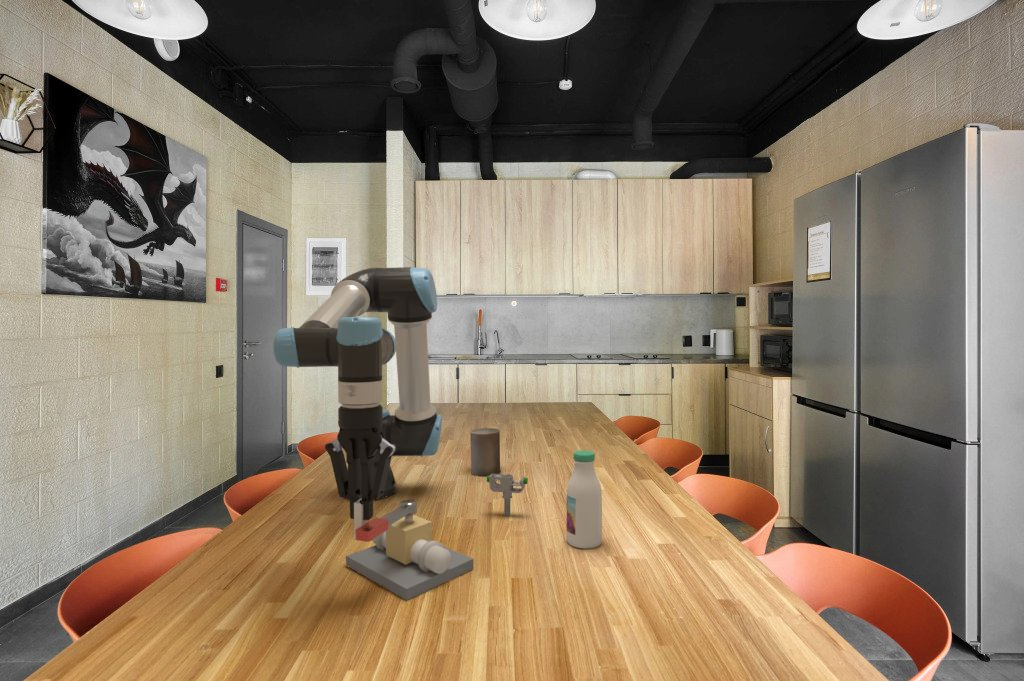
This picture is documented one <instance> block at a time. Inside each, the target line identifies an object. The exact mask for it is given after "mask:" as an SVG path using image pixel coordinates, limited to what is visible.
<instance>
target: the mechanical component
mask: <svg viewBox="0 0 1024 681" xmlns="http://www.w3.org/2000/svg"><path fill="white" fill-rule="evenodd" d="M497 481H499V483H498V482H497ZM486 482H487V483H489V489H490V490H491V492H496V493H502V496H501V498H503V506H504V507H503V510H504V511H503V514H504V517H510V515H511V499H513V494H520V493H522V492H523V491H524V489H525V487H526V485H528V482H529V480H528V477H526V476H521V477H520V480H519V481H516V479H515V478H514V475H513V474H507V473H506V474H505V473H504V474H503V473H499V474H491V475H490V476H486ZM514 486H515V487H514ZM517 487H519V488H517ZM520 487H521V488H520Z"/></svg>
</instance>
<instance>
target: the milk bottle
mask: <svg viewBox="0 0 1024 681" xmlns="http://www.w3.org/2000/svg"><path fill="white" fill-rule="evenodd" d="M595 454H596V453H595V452H594V451H592V450H588V449H587V450H583V449H582V450H580V449H579V450H575V451H574V452H573V463H574V467H573V470H572V473H571V476H570V478H569V480H568V483H567V488H566V541H567V544H568V545H570V546H571V547H574V548H577V549H583V550H585V549H587V550H589V549H594V548H597V547H599V546H601V544H602V540H603V499H602V498H603V496H602V487H601V484H600V480H599V478H598V476H597V474H596V470H595V465H594V464H595V462H596V461H595V458H596V456H595Z"/></svg>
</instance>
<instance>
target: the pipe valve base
mask: <svg viewBox="0 0 1024 681" xmlns="http://www.w3.org/2000/svg"><path fill="white" fill-rule="evenodd" d="M371 541H372V542H373V544H375V545H373V546H369V547H367V548H363V549H362V550H361V549H360V550H358V551H356V552H353V553H350V554H348V555H346V556H345V566H346V565H347V566H349V567H350V568H349V567H348V568H349V569H351V568H352V569H351V570H353V571H354V570H355V572H356V571H357V572H356V573H358V572H359V573H358V574H360V573H361V574H362V575H361V574H360V575H361V576H363V575H364V576H363V577H365V576H366V577H365V578H366V579H368V578H369V580H371V581H372V582H374V583H375V582H376V584H377V583H378V584H377V585H379V584H380V585H379V586H381V587H382V586H383V588H384V587H385V588H384V589H386V590H388V591H389V590H390V591H389V592H392V593H393V594H394V595H396V596H399V597H400V598H402V599H404V600H405V601H409V600H410V599H413V598H415V597H417V596H419V595H421V594H423V593H426V592H427V591H429V590H432V589H434V588H437V587H438V586H440V585H443V584H445V583H447V582H449V581H451V580H453V579H455V578H457V577H459V576H462V575H464V574H466V573H467V572H470V571H472V570H474V567H475V566H474V558H472V557H470V556H468V555H465V554H463V553H460V552H458V551H456V550H453V549H452V548H449V547H447V546H444V545H443V544H442V543H441V542H439V541H437V540H433V522H432V521H430V520H428V519H425V518H422V517H420V516H417V515H415V514H413V515H406V516H404V517H403V518H401V519H400V520H398V521H396V522H395V523H393V524H392V525H390V526H389V529H388V530H387V531H385V532H383V533H382V534H380V535H379V536H377V537H376V538H374V539H373V540H371ZM347 566H346V567H347Z"/></svg>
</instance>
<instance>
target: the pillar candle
mask: <svg viewBox="0 0 1024 681" xmlns="http://www.w3.org/2000/svg"><path fill="white" fill-rule="evenodd" d="M469 432H470V436H469V437H470V470H471V474H472V475H474V476H477V475H478V476H477V477H487V476H490V475H491V474H501V442H500V441H501V436H500V435H501V434H500V433H501V432H500V429H498V428H495V427H487V426H485V427H483V428H481V427H480V428H474V429H471V430H470V431H469Z"/></svg>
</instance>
